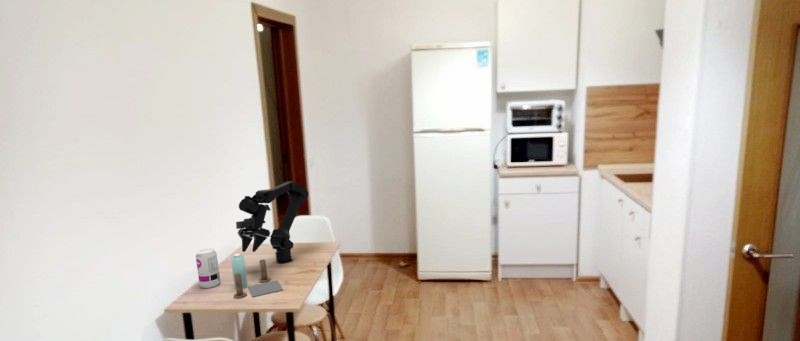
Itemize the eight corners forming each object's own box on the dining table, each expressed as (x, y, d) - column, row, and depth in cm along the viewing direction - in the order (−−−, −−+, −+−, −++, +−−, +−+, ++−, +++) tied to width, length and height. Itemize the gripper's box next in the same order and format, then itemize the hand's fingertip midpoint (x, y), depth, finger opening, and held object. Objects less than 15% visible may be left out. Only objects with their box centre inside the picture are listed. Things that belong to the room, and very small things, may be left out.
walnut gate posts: (263, 278, 199) (261, 258, 198) (273, 278, 198) (270, 258, 197) (230, 298, 180) (228, 276, 179) (241, 299, 178) (238, 277, 177)
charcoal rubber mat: (277, 280, 195) (277, 280, 195) (283, 290, 184) (283, 289, 184) (248, 287, 190) (248, 286, 190) (252, 297, 179) (252, 296, 179)
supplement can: (200, 290, 190) (195, 255, 188) (199, 284, 198) (194, 250, 195) (221, 285, 194) (217, 251, 192) (219, 279, 201) (214, 247, 199)
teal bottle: (246, 283, 194) (242, 251, 192) (248, 287, 190) (244, 254, 188) (234, 286, 192) (230, 253, 190) (235, 290, 188) (231, 257, 186)
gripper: (232, 213, 206) (221, 247, 201) (252, 210, 193) (241, 247, 188) (254, 220, 213) (244, 253, 208) (274, 218, 200) (265, 253, 195)
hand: (248, 251), depth 200 cm, fingers open, 9 cm apart
